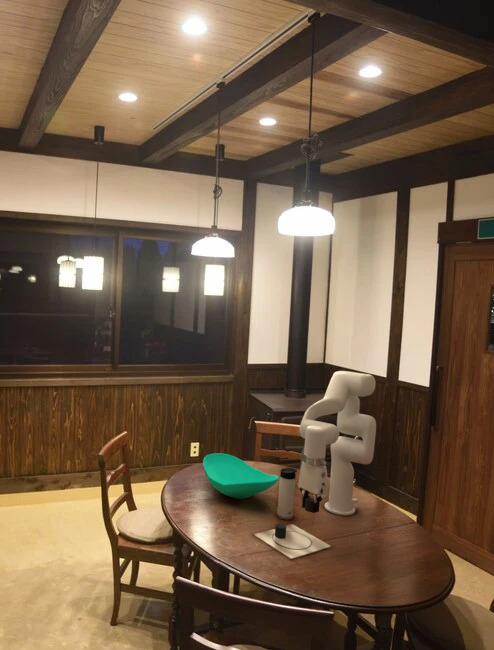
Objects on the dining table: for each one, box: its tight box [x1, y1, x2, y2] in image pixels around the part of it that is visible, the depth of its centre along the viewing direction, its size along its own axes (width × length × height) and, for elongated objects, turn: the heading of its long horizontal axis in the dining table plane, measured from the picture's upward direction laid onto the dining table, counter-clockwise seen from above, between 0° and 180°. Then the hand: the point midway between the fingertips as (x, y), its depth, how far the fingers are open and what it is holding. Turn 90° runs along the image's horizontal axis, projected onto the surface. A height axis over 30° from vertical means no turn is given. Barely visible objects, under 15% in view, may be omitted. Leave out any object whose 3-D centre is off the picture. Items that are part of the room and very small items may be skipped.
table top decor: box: [202, 452, 280, 500], centre depth 239 cm, size 40×28×13 cm
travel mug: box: [276, 467, 298, 521], centre depth 219 cm, size 6×7×20 cm
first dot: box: [274, 523, 287, 539], centre depth 201 cm, size 4×4×4 cm
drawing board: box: [253, 523, 332, 560], centre depth 199 cm, size 20×20×1 cm
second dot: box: [304, 496, 314, 513], centre depth 195 cm, size 4×4×4 cm
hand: (310, 509), depth 195 cm, fingers closed on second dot, 4 cm apart
